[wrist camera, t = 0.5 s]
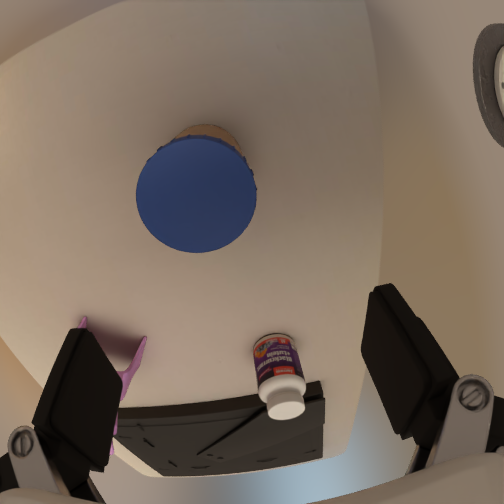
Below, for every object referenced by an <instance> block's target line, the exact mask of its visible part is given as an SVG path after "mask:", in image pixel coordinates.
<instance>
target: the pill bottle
mask: <svg viewBox="0 0 504 504" xmlns="http://www.w3.org/2000/svg"><path fill="white" fill-rule="evenodd" d="M253 355H254V363H255V370H256V378H257V386H258V393H259V397H260V399H261V400H262V401H263V402H265V403H267V410H268V415H269V416H270V417H271V418H273V419H276V420H287V419H292V418H295V417H297V416H299V415H300V414H302V413H303V412H304V410H305V404H304V399H303V397H302V396H303V395H304V393H305V391H306V383H305V379H304V375H303V371H302V368H301V364H300V360H299V356H298V353H297V349H296V346H295V343H294V341H293V340H292V339H291V338H290V337H288V336H286V335H282V334H273V335H269V336H266V337H264V338H262V339H260V340H259V341H258V342H257V343H256V344H255V346H254V349H253Z"/></svg>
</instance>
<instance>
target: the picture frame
mask: <svg viewBox="0 0 504 504" xmlns="http://www.w3.org/2000/svg"><path fill="white" fill-rule="evenodd" d="M302 397H303V399H304V404H305V410H304V412H303V413H302V414H300V415H299V416H297V417H295V418H292V419H287V420H276V419H273V418H271V417H270V416H269V415H268V410H267V403H265V402H263V401H262V400H261V399H260V397H259V394H256V395H250V396H244V397H238V398H232V399H225V400H218V401H210V402H202V403H193V404H183V405H172V406H159V407H141V408H118V419H117V433H116V435H113V437H114V438H115V439H116V440H117V441H119V442H120V443H121V444H122V445H123V446H124V447H126V448H127V449H128V450H129V451H131V452H132V453H133V454H134V455H136V456H137V457H138V458H139V459H141V460H142V461H143V462H145V463H146V464H147V465H149V466H150V467H151V468H153V469H154V470H155V471H157V472H158V473H160V474H161V475H162V476H205V475H220V474H231V473H241V472H249V471H256V470H263V469H270V468H276V467H281V466H287V465H292V464H297V463H301V462H306V461H310V460H315V459H319V458H322V457H323V424H324V423H325V398H323V390H322V387H321V384H320V381H317V382H313V383H308V384H306V391H305V393H304V395H303V396H302Z"/></svg>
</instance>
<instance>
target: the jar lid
mask: <svg viewBox="0 0 504 504" xmlns="http://www.w3.org/2000/svg"><path fill="white" fill-rule="evenodd" d="M146 162H147V163H146V165H145V166H144V168H143V170H142V172H141V174H140V176H139V179H138V183H137V189H136V202H137V208H138V211H139V214H140V217H141V219H142V221H143V223H144V224H145V226H146V228H147V229H148V230H149V231H150V233H151V234H152V235H153V236H154V237H155V238H157V239H158V240H159V241H161V242H162V243H164V244H165V245H167V246H169V247H171V248H174V249H176V250H180V251H184V252H190V253H203V252H209V251H213V250H217V249H219V248H222V247H224V246H226V245H228V244H229V243H231V242H232V241H234V240H235V239H236V238H238V237H239V236H240V235H241V234H242V233H243V231H244V230H245V229H246V228H247V226H248V224H249V223H250V221H251V219H252V216H253V214H254V210H255V207H256V190H257V188H256V185H255V182H254V178H253V175H254V174H253V172H252V169H250V168H249V166H248V164H247V162H246V158H245V156H244V157H243V156H242V155H241V154H240V153H239V152H238V151H237V150H236V149H235V146H234V145H233V146H231V145H230V144H228V143H227V142H225V141H223V140H221V138H219V139H218V138H215V137H212V136H207V135H206V134H204V135H190V134H188V135H187V136H184V137H180V138H178V139H175V138H174V139H173V140H172V141H171V142H169V143H167V144H166V145H165V146H163V147H162V146H161V147H160V148H159V149H158V150H157V152H156V153H155V154H154V155H153V156H152V157H150V158H149V159H148V160H147V161H146Z"/></svg>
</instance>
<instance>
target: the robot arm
mask: <svg viewBox="0 0 504 504" xmlns="http://www.w3.org/2000/svg"><path fill="white" fill-rule="evenodd" d="M494 81H495V90H496V96H497V100H498V104H499V107H500V110H501V112H502V115H503V117H504V46H503V47H502V48H501V49H500V51H499V52H498V54H497V58H496V61H495V68H494ZM361 353H362V357H363V359H364V361H365V364H366V366H367V368H368V370H369V373H370V375H371V377H372V380H373V382H374V384H375V387H376V389H377V391H378V393H379V396H380V398H381V401H382V403H383V406H384V408H385V410H386V413H387V415H388V418H389V420H390V422H391V425H392V428H393V430H394V432H395V433H396V434H400V436H401V438H402V440H404V439H407V438H410V437H412V436H413V438H414V441H415V443H416V445H417V446H416V449H415V452H414V454H413V456H412V459H411V461H410V464H409V466H408V469H407V471H406V473H405V476H404V477H401V478H398V479H395V480H393V481H390V482H387V483H384V484H381V485H378V486H375V487H372V488H368V489H364V490H361V491H358V492H354V493H351V494H347V495H343V496H339V497H335V498H331V499H327V500H322V501H318V502H313V503H307V504H504V399H503V398H500V397H497V396H494V392H493V389H492V386H491V385H490V383H489V382H488V381H487V380H486V379H484V378H483V377H481V376H478V375H473V374H470V375H465V376H463V377H461V378H459V376H458V374H457V373H456V371H455V369H454V368H453V366H452V365H451V363H450V361H449V360H448V358H447V357H446V355H445V354H444V352H443V350H442V349H441V347H440V346H439V344H438V343H437V342H436V340H435V338H434V337H433V335H432V334H431V332H430V331H429V329H428V328H427V327H426V325H425V324H424V322H423V321H422V320H421V319H420V318H419V317H416V315H415V314H414V313H413V311H412V310H411V308H410V307H409V306H408V304H407V303H406V301H405V300H404V298H403V297H402V296H401V294H400V293H399V292H398V290H397V289H396V287H395V286H394V285H393V284H391V283H389V284H384V285H380V286H376V287H375V288H374V290H373V292H370V293H369V299H368V306H367V313H366V320H365V326H364V332H363V338H362V344H361ZM122 389H123V382H122V379H121V377H120V376H119V375H118V373H117V372H116V370H115V369H114V367H113V366H112V364H111V362H110V361H109V359H108V358H107V356H106V355H105V353H104V351H103V350H102V348H101V347H100V345H99V343H98V342H97V340H96V338H95V337H94V335H93V333H92V332H89V331H88V329H86V328H73V329H70V331H69V332H68V334H67V336H66V338H65V341H64V343H63V345H62V347H61V349H60V352H59V354H58V356H57V358H56V361H55V363H54V365H53V368H52V370H51V372H50V375H49V377H48V380H47V382H46V385H45V387H44V390H43V392H42V395H41V397H40V400H39V403H38V406H37V408H36V411H35V414H34V417H33V420H32V424H33V425H34V426H35V427H34V430H33V429H32V428H31V427H29V426H20V427H18V428H16V429H15V430H14V431H13V432H12V434H11V435H10V437H9V440H8V453H6V454H5V455H3V456H2V457H1V458H0V504H106V503H105V501H104V500H103V498H102V496H101V495H100V494H99V492H98V490H97V489H96V487H95V485H94V483H93V482H92V480H91V478H90V476H89V472H90V470H91V471H96V472H104V467H105V466H106V465H107V464H108V461H109V455H110V449H111V444H112V438H113V433H114V427H115V422H116V417H117V412H118V408H119V403H120V398H121V394H122Z"/></svg>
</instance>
